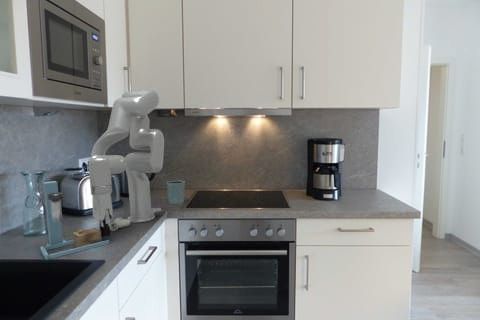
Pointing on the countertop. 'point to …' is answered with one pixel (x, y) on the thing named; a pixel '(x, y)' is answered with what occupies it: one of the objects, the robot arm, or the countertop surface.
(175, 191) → the drinking glass
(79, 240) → the housing
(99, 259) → the countertop surface
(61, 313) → the countertop surface
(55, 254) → the press
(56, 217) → the ram
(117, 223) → the pipe fitting
